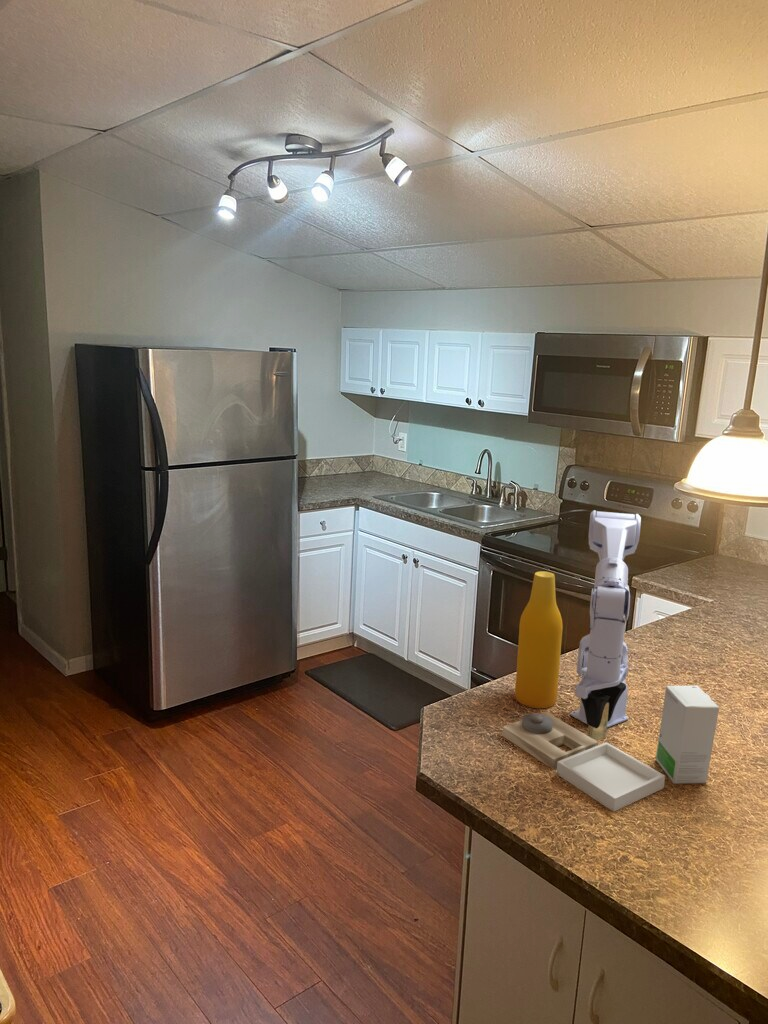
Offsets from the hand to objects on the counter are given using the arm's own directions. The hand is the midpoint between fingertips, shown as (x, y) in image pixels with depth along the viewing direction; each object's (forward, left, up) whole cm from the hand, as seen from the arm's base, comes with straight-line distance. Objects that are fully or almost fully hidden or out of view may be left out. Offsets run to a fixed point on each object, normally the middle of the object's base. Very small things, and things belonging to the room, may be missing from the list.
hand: (598, 722), depth 135 cm
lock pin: (0, 0, -3) cm, 3 cm away
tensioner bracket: (0, -12, -10) cm, 15 cm away
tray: (0, +3, -10) cm, 11 cm away
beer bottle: (-11, -27, -10) cm, 31 cm away
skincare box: (-14, +8, -10) cm, 19 cm away
